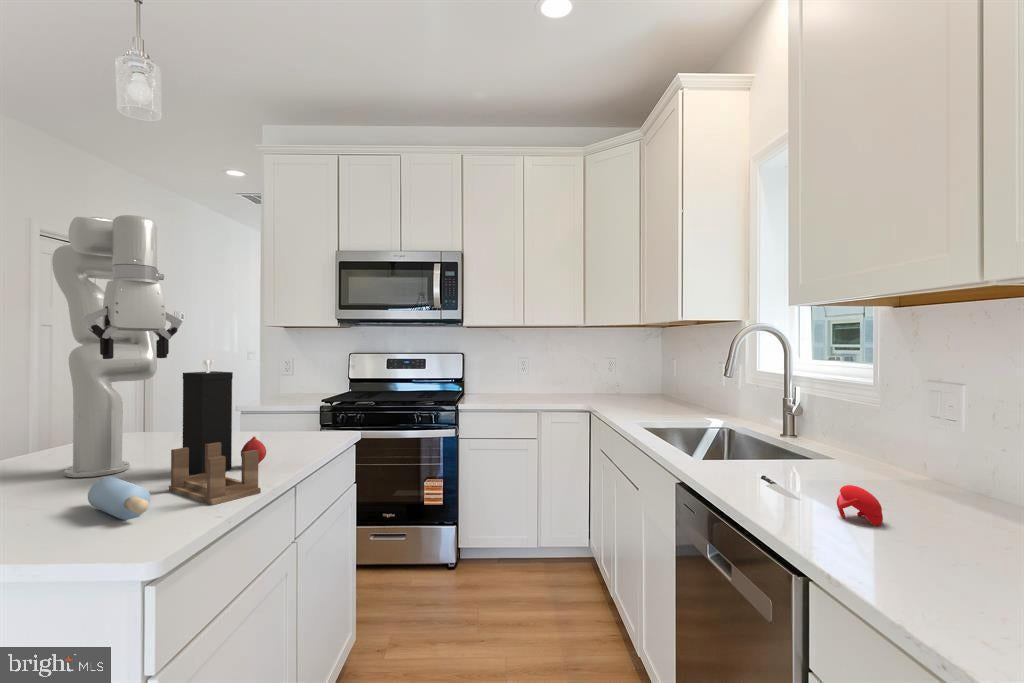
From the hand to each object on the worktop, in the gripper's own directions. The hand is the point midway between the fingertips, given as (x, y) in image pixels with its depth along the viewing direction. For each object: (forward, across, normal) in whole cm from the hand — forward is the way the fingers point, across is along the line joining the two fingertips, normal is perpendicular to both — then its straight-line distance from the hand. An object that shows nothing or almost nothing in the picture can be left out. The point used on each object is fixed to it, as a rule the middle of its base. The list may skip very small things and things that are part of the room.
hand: (135, 358), depth 106 cm
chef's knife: (+34, -81, +111) cm, 141 cm away
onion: (+29, -28, -6) cm, 41 cm away
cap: (+35, -67, +126) cm, 147 cm away
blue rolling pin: (+29, +6, +7) cm, 31 cm away
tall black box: (+28, -20, -11) cm, 36 cm away
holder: (+29, -11, +8) cm, 32 cm away
